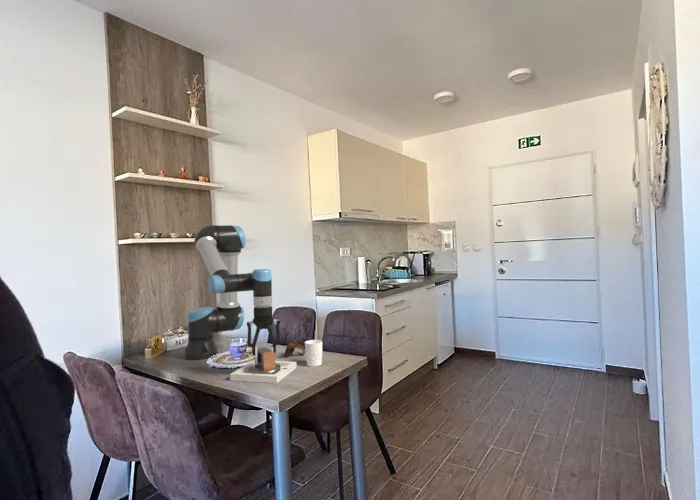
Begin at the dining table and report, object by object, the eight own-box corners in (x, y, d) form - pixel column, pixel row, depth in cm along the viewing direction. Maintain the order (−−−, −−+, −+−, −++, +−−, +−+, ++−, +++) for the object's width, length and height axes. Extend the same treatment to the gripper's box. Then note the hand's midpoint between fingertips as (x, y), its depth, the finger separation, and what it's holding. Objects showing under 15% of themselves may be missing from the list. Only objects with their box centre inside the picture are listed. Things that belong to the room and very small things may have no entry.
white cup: (319, 361, 179) (318, 339, 179) (325, 365, 172) (325, 342, 172) (302, 363, 176) (302, 341, 176) (308, 368, 169) (308, 344, 169)
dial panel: (230, 380, 155) (229, 373, 155) (254, 365, 174) (254, 359, 174) (277, 383, 150) (276, 376, 150) (296, 367, 170) (296, 361, 170)
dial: (243, 370, 164) (243, 349, 164) (272, 364, 171) (272, 345, 171) (255, 378, 153) (254, 356, 153) (285, 371, 161) (285, 350, 161)
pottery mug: (287, 353, 196) (295, 338, 197) (302, 363, 193) (310, 348, 194) (277, 353, 185) (286, 337, 186) (293, 363, 182) (302, 347, 183)
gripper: (239, 309, 156) (241, 367, 156) (286, 305, 161) (288, 362, 161) (239, 306, 163) (240, 362, 163) (284, 303, 169) (286, 357, 169)
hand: (264, 362), depth 162 cm, fingers closed on dial, 6 cm apart
